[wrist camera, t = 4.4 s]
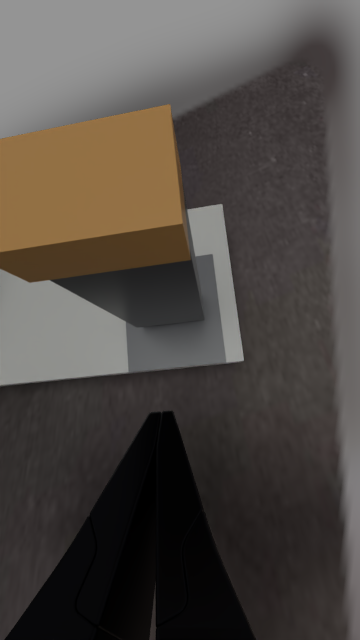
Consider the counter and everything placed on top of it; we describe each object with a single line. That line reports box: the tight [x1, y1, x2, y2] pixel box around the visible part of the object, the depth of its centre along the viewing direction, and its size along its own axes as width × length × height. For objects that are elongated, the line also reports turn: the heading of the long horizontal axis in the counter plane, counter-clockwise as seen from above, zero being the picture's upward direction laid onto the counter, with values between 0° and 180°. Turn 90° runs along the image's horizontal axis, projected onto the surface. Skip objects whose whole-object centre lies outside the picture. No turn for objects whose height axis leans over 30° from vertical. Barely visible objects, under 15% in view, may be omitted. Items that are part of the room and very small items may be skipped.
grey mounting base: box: [0, 204, 244, 386], centre depth 18 cm, size 9×20×4 cm, turn 95°
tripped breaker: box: [0, 104, 204, 328], centre depth 9 cm, size 2×4×10 cm, turn 96°
